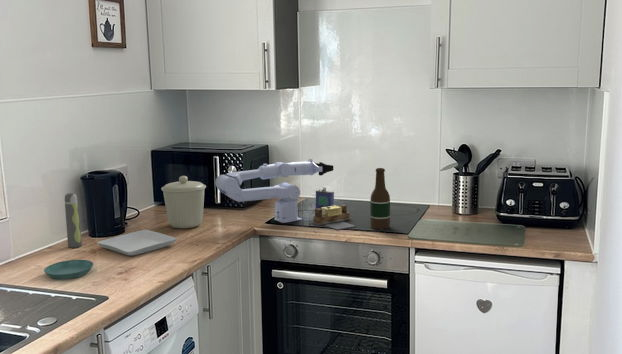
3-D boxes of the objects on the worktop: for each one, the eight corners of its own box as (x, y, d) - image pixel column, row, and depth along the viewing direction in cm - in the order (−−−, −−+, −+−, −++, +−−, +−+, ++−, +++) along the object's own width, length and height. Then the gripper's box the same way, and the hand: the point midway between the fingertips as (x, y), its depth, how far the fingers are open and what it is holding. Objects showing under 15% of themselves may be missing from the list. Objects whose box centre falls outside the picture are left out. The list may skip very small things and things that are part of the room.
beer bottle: (389, 225, 247) (389, 166, 243) (390, 229, 240) (390, 170, 236) (370, 224, 248) (370, 167, 244) (370, 229, 241) (370, 170, 237)
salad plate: (129, 260, 208) (128, 251, 207) (96, 250, 222) (95, 240, 221) (179, 246, 224) (178, 237, 223) (145, 237, 238) (145, 228, 237)
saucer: (49, 269, 200) (48, 261, 199) (96, 265, 203) (95, 257, 203) (40, 284, 186) (39, 275, 185) (91, 279, 189) (90, 271, 189)
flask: (335, 210, 275) (334, 187, 273) (332, 212, 273) (331, 188, 271) (317, 208, 280) (316, 186, 278) (314, 210, 277) (313, 187, 275)
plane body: (317, 225, 250) (317, 210, 249) (312, 223, 253) (312, 208, 252) (350, 219, 258) (350, 205, 257) (345, 217, 261) (344, 203, 260)
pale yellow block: (328, 216, 251) (327, 208, 251) (321, 214, 255) (321, 206, 255) (341, 214, 255) (341, 206, 254) (335, 212, 259) (335, 204, 258)
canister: (212, 228, 248) (209, 177, 244) (167, 233, 241) (164, 181, 238) (203, 218, 265) (200, 171, 261) (160, 223, 258) (157, 174, 254)
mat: (337, 230, 241) (337, 229, 241) (324, 225, 248) (324, 224, 248) (355, 226, 246) (355, 225, 245) (342, 222, 253) (342, 221, 253)
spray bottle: (85, 245, 226) (80, 192, 223) (74, 248, 222) (70, 195, 219) (75, 244, 229) (70, 192, 225) (65, 247, 224) (60, 194, 221)
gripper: (309, 160, 252) (337, 159, 259) (293, 158, 265) (320, 157, 271) (309, 177, 253) (337, 175, 260) (293, 174, 266) (320, 173, 272)
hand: (328, 167), depth 266 cm, fingers open, 7 cm apart
